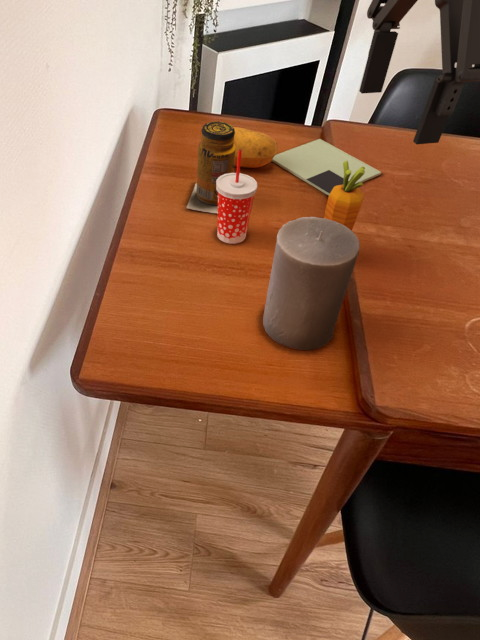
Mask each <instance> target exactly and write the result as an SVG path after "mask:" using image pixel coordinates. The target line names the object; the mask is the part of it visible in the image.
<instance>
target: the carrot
mask: <svg viewBox="0 0 480 640" xmlns="http://www.w3.org/2000/svg"><path fill="white" fill-rule="evenodd" d="M343 167H344V184H343V185H337V186H335V187H334V188H333V189H332V191H331V193H330V195H329V196H328V197H327V202H326V206H325V209H324V216H323V218H324V219H329V220H332V221H335V222H337V223H340V224H342V225H344V226H346V227H347V228H349V229H350V230H351V231H352V232H353V229H354V227H355V224H356V222H357V219H358V216H359V215H360V214H359V213H360V212H361V208H362V205H363V202H364V199H365V195H364V193H363V192H362V190H361V189H359V188H360V187H362V186H363V185H364V182H362V183H361V182H358V183H356V182H357V181H358V180H359V179H360V178H361V177H362V176H363V175H364V173H365V170H364V169H365V167H361V168H359V169H358V170H357V171H356V173H355V174H354V175H353V176H352V177H351V179H350V181H349V182H348V179H349V177H350V175H351V170H349V165H348V161H345V162H343ZM355 183H356V184H355Z"/></svg>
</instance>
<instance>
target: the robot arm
mask: <svg viewBox="0 0 480 640" xmlns="http://www.w3.org/2000/svg"><path fill="white" fill-rule="evenodd" d="M418 1H419V0H371V3H370V4H369V5H368V8H367V11H366V16H367V19H371V20H372V26H371V27H372V30H373V34H372V38H371V43H370V46H369V50H368V56H367V59H366V63H365V66H364V71H363V74H362V79H361V83H360V87H359V90H358V92H359V93H360V94H362V95H363V94H377V93H378V94H379V93H382V92H383V88H384V85H385V81H386V77H387V74H388V72H389V67H390V64H391V61H392V57H393V55H394V54H393V53H394V49H395V47H396V43H397V40H398V35H399V32H397V31H396V30H400V29H401V27H400V26H401V25H400V22H401V21H402V20H403V19H404V18H405V17H406V15H407V14H408V13H409V12H410V10H411V9H412V8H413V7H414V6H415V5H416V3H417V2H418ZM382 4H384V5H382ZM434 5H435V7H436V8H437V9H438V10H439V22H440V23H439V24H440V25H439V26H440V46H441V47H440V48H441V69H442V70H441V71H442V74H440V75H438V76H436V77H435V79H434V81H433V84H432V87H431V89H430V92H429V95H428V98H427V101H426V104H425V106H424V110H423V111H422V112H423V113H422V114H421V118H420V120H419V123H418V126H417V129H416V131H415V134H414V138H413V140H412V141H413V143H414V144H415V145H426V144H427V145H428V144H438V143H439V142H440V140H441V137H442V134H443V132H444V129H445V127H446V124H447V122H448V119H449V116H451V115H452V114H453V112H455V108H456V106H457V104H458V100H459V99H460V96H461V94H462V91H463V88H464V86H465V84H467V83H468V82H469V83H470V82H480V0H434ZM391 30H393V31H391ZM455 65H456V67H455Z"/></svg>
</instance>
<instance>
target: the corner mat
mask: <svg viewBox="0 0 480 640" xmlns="http://www.w3.org/2000/svg"><path fill="white" fill-rule="evenodd" d="M345 161H348V165H349V170H351V175H350V177H349V179H348V182H349V181H350V179H351V177H352V176H353V175H354V174H355V173H356V171H357V170H358V169H359V168H361V167H365V169H364V170H365V173H364V175H363V176H362V177H361V178H360V179H359V180H358V181H357V182H356V183H358V182H361V183H364V182H367V181H369V180H372V179H373V178H376V177H378V176H381V175H382V171H380V170H378V169H376V168H375V167H373V166H371V165H370V164H367V163H366V162H364V161H362V160H360V159H358V158H357V157H354V156H353V155H350V154H349V153H347V152H345V151H343V150H341V149H340V148H338V147H337V146H334V145H332V144H330V143H329V142H326V141H325V140H323V139H322V138H318V139H315V140H312V141H310V142H306V143H304V144H302V145H298V146H296V147H292V148H290V149H287V150H285V151H282V152H280V153H276V154H275V156H274V158H273V159H272V161H271V162H272V163H274V164H275V165H277V166H279V167H280V168H282V169H284V170H286V171H287V172H288V173H290V174H292V175H293V176H295V177H297V178H299V180H301V181H303V182H305V183H307V184H308V185H310V186H311V187H313V188H315V189H316V190H318V191H320V192H321V193H322V194H324V195H326V196H328V197H329V195H330V193H331V191H332V189H333V188H334V187H335V186H337V185H343V184H344V167H343V162H345ZM356 183H355V184H356Z"/></svg>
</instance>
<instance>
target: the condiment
mask: <svg viewBox="0 0 480 640" xmlns="http://www.w3.org/2000/svg"><path fill="white" fill-rule="evenodd" d="M233 127H234V126H233V125H232V124H230V123H228V122H225V121H220V120H218V121H217V120H215V121H210V122H206V123H205V124H203V126H202V128H201V135H200V136H201V137H200V142H198V143H199V144H198V149H197V151H198V152H197V167H196V170H197V171H196V183H195V184H194V187H193V190H192V192H191V196H190V197H189V200H188V202H187V204H186V209H189V210H193V211H199V212H204V213H210V214H218V191H217V190H216V180H217V179H218V178H219V177H220V176H222V175H224V174H228V173H235V172H234V169H235V166H234V160H235V151H236V147H235V144H234V140H235V139H234V135H235V129H234V128H233Z"/></svg>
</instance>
